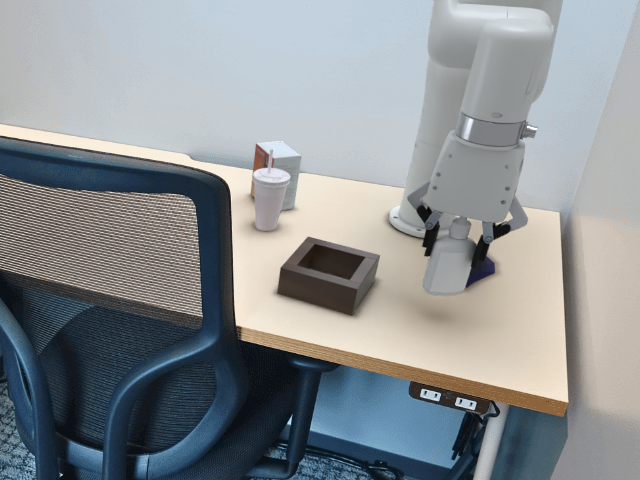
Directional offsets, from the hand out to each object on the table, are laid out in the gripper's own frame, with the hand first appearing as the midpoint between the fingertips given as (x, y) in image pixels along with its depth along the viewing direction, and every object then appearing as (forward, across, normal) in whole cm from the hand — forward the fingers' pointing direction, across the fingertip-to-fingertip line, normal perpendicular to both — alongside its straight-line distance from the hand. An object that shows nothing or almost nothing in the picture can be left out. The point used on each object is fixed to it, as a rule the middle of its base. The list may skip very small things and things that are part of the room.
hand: (451, 257), depth 95 cm
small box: (+9, +35, -23) cm, 43 cm away
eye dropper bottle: (+5, 0, 0) cm, 5 cm away
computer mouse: (+10, -1, -16) cm, 19 cm away
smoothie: (+9, +32, -13) cm, 36 cm away
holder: (+9, +16, +1) cm, 19 cm away
